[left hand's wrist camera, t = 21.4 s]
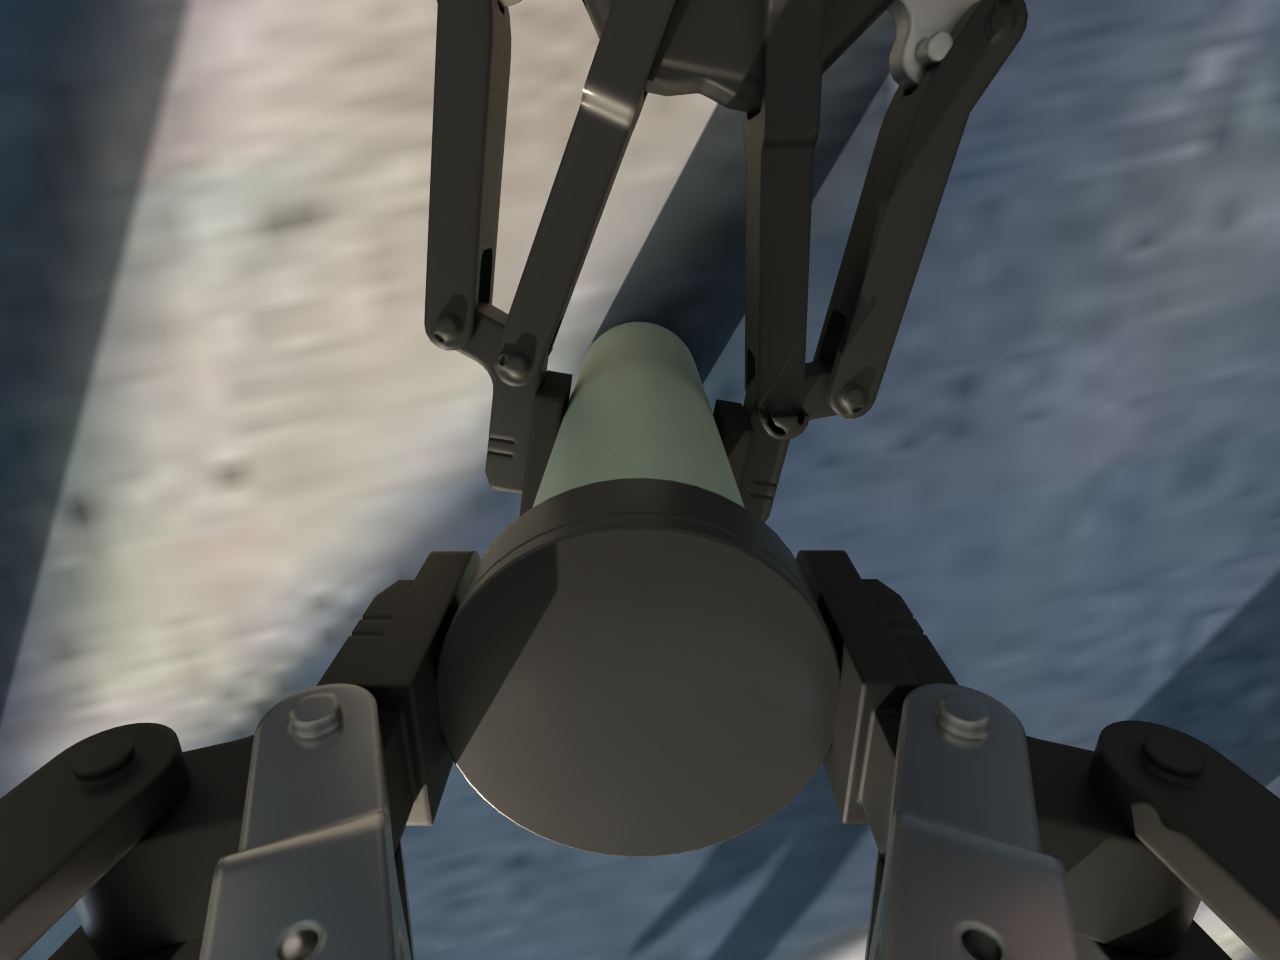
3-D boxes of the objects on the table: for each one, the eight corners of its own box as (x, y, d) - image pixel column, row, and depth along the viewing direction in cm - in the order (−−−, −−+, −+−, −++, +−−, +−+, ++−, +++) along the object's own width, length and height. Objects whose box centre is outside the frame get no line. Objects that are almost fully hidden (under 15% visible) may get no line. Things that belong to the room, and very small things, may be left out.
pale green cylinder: (556, 388, 26) (423, 693, 10) (630, 295, 25) (616, 474, 9) (645, 458, 27) (656, 836, 11) (721, 373, 26) (857, 659, 10)
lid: (852, 722, 11) (883, 801, 10) (545, 809, 12) (532, 895, 11) (756, 423, 9) (778, 465, 8) (399, 547, 10) (358, 605, 9)
